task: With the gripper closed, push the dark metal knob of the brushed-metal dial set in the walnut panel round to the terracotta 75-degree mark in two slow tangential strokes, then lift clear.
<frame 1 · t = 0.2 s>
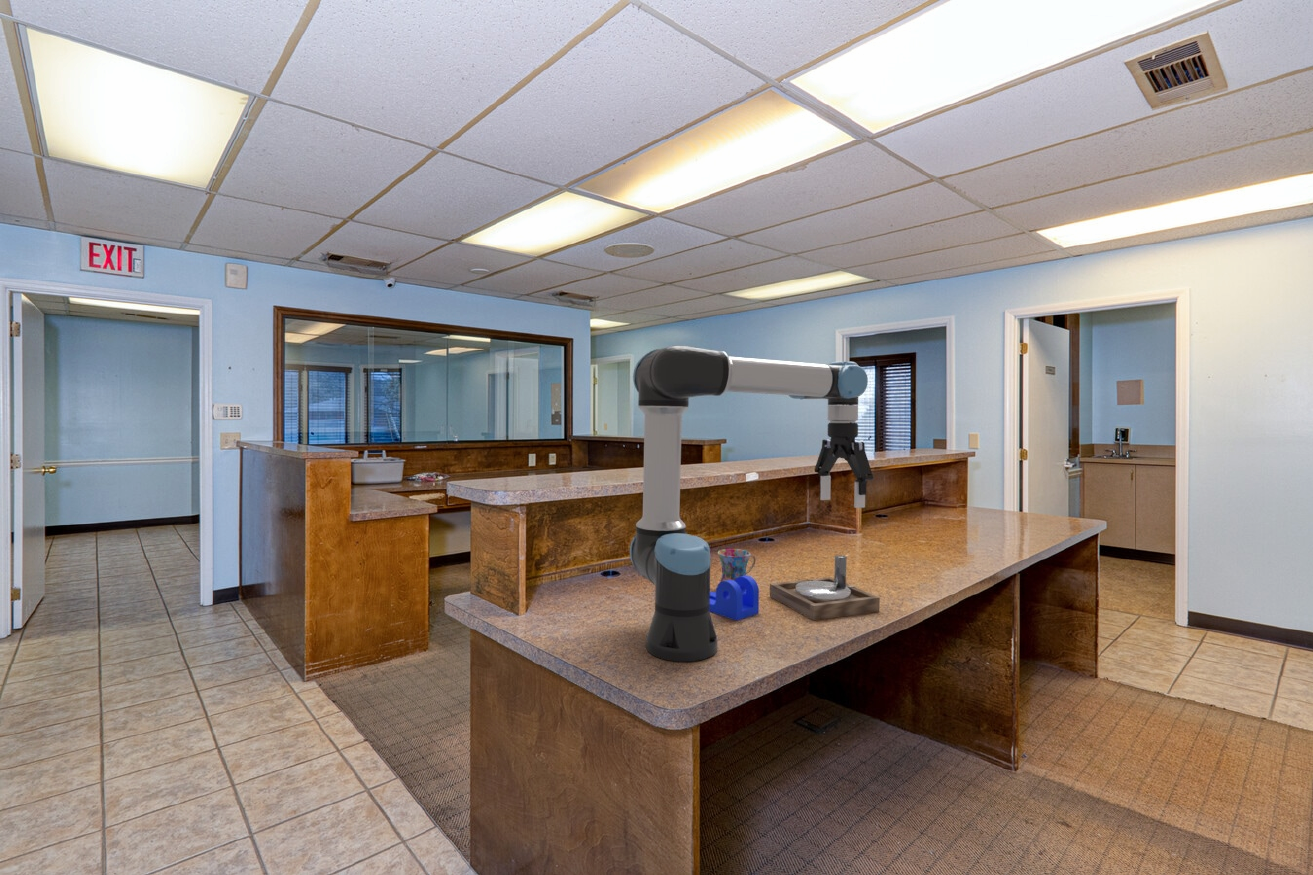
hand: (841, 503, 158), 27 cm above the table, fingers open, 13 cm apart
mug: (737, 589, 173), on the table
bracket: (720, 609, 156), on the table
dial: (823, 576, 160), point 7 cm above the table, hinge at 0.0°
dial panel: (822, 603, 160), on the table
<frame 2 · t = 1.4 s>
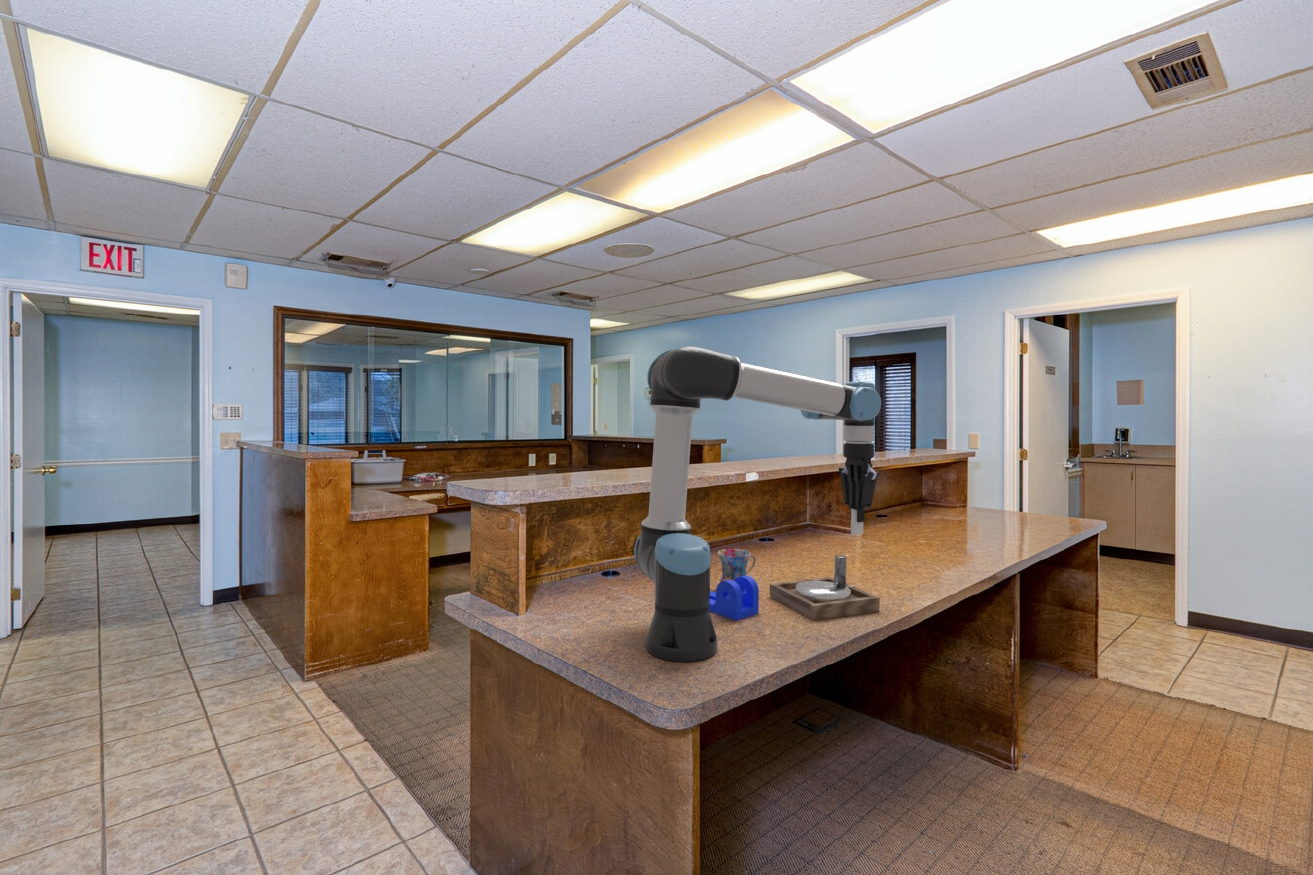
hand: (857, 534, 156), 19 cm above the table, fingers closed
nothing on the table moved.
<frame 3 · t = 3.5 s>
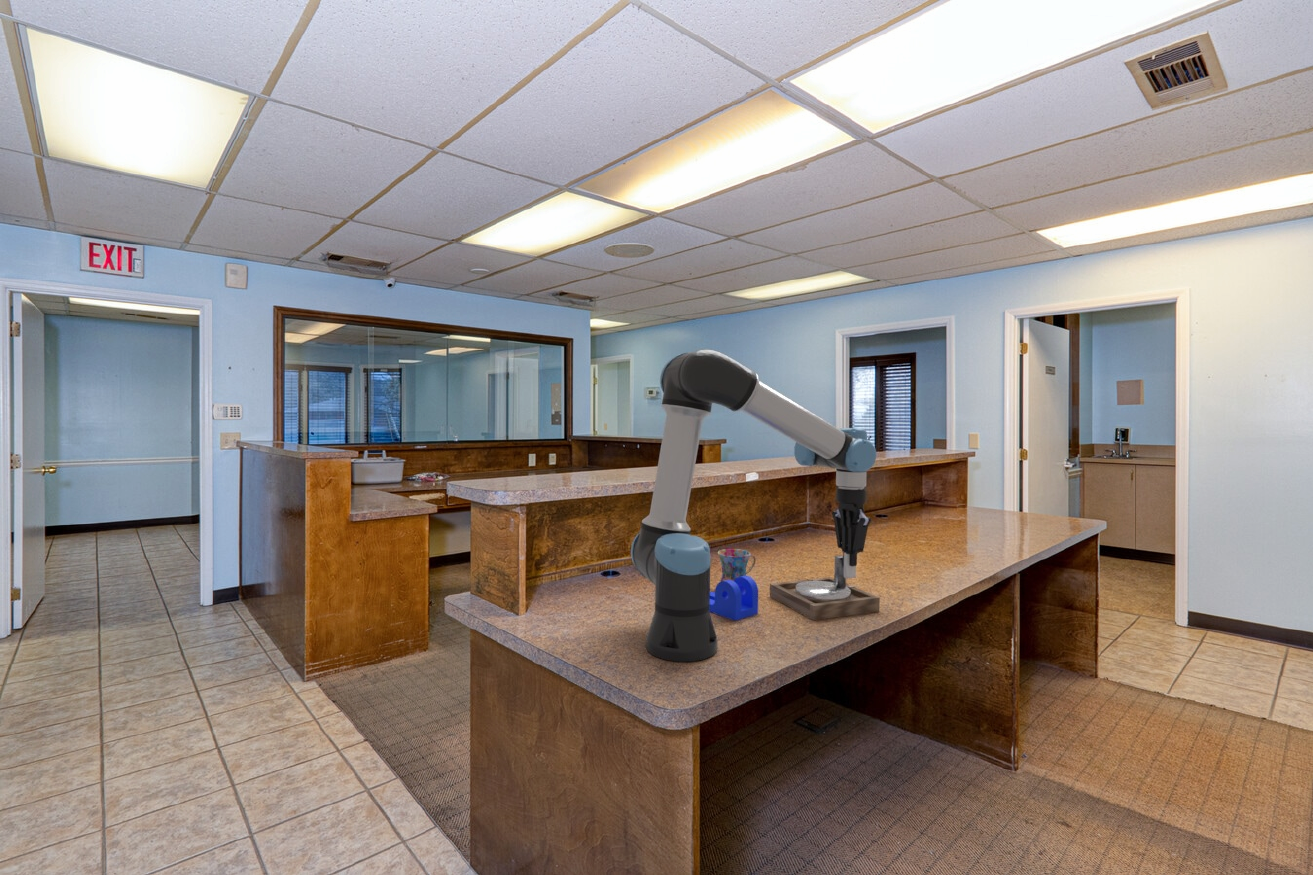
hand: (849, 577, 159), 7 cm above the table, fingers closed
dial: (823, 576, 160), point 7 cm above the table, hinge at 0.6°, touching gripper
everything else where it was.
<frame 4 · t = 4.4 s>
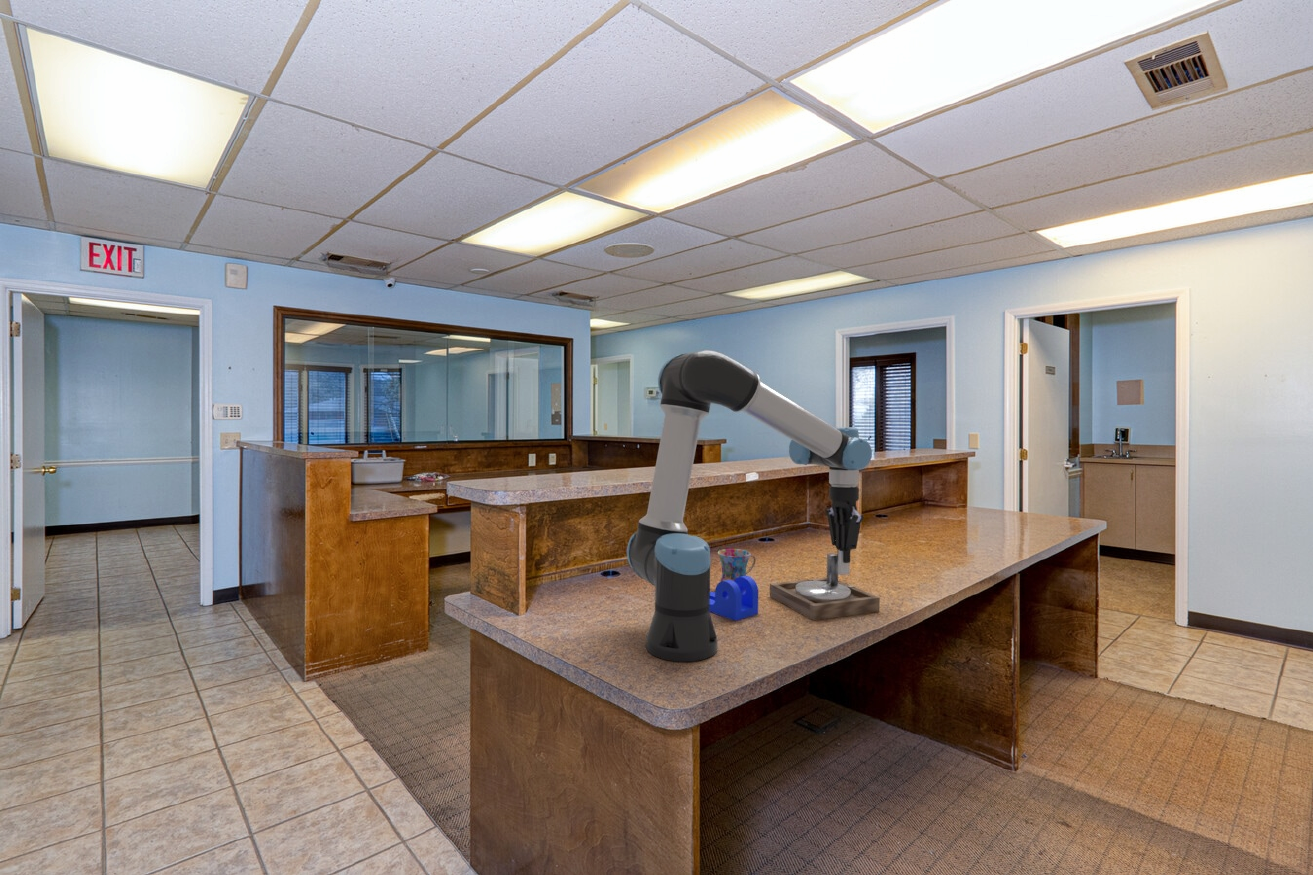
hand: (843, 574, 161), 8 cm above the table, fingers closed
dial: (823, 576, 160), point 7 cm above the table, hinge at 27.4°, touching gripper
everything else where it was.
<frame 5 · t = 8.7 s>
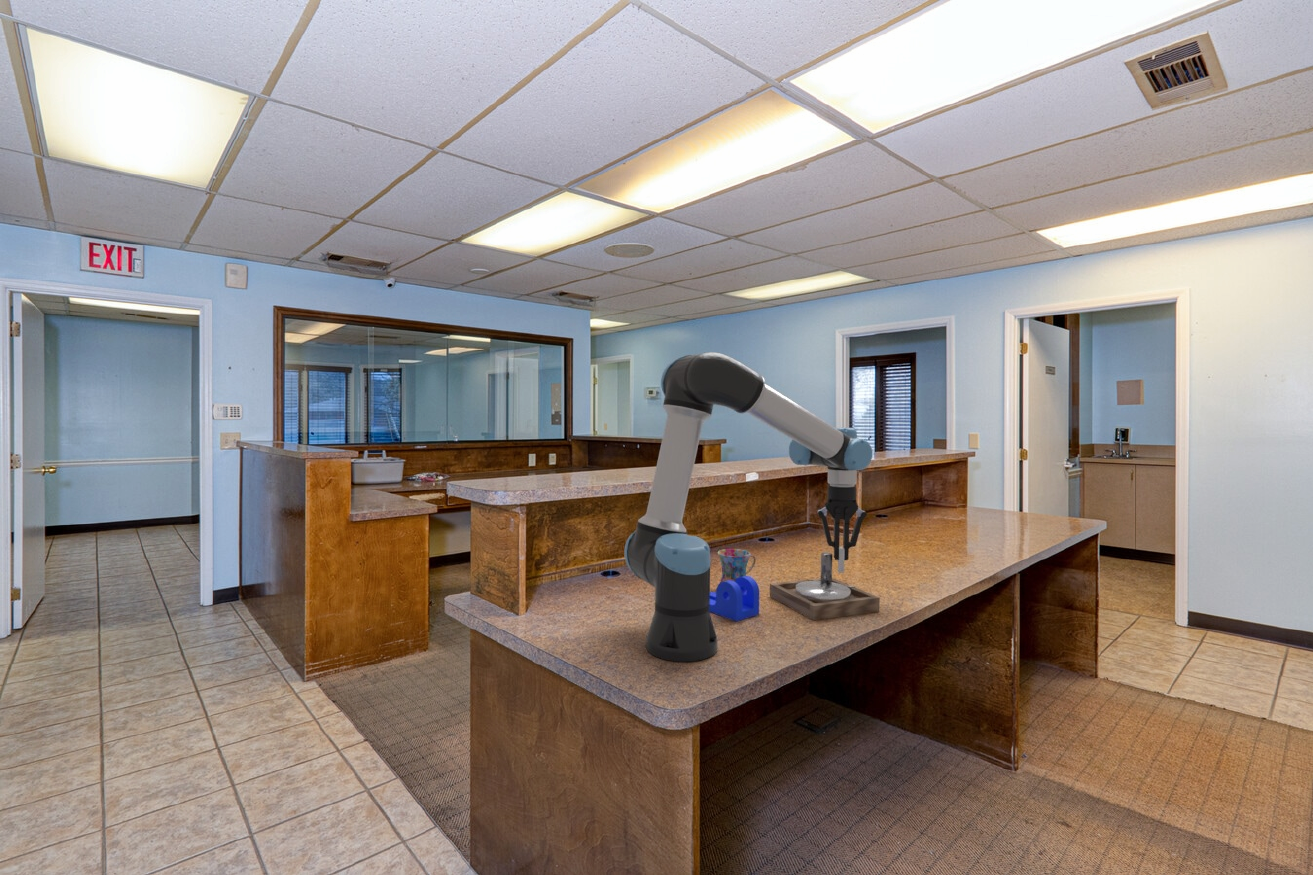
hand: (840, 571, 164), 7 cm above the table, fingers closed
dial: (823, 576, 160), point 7 cm above the table, hinge at 44.8°, touching gripper
everything else where it was.
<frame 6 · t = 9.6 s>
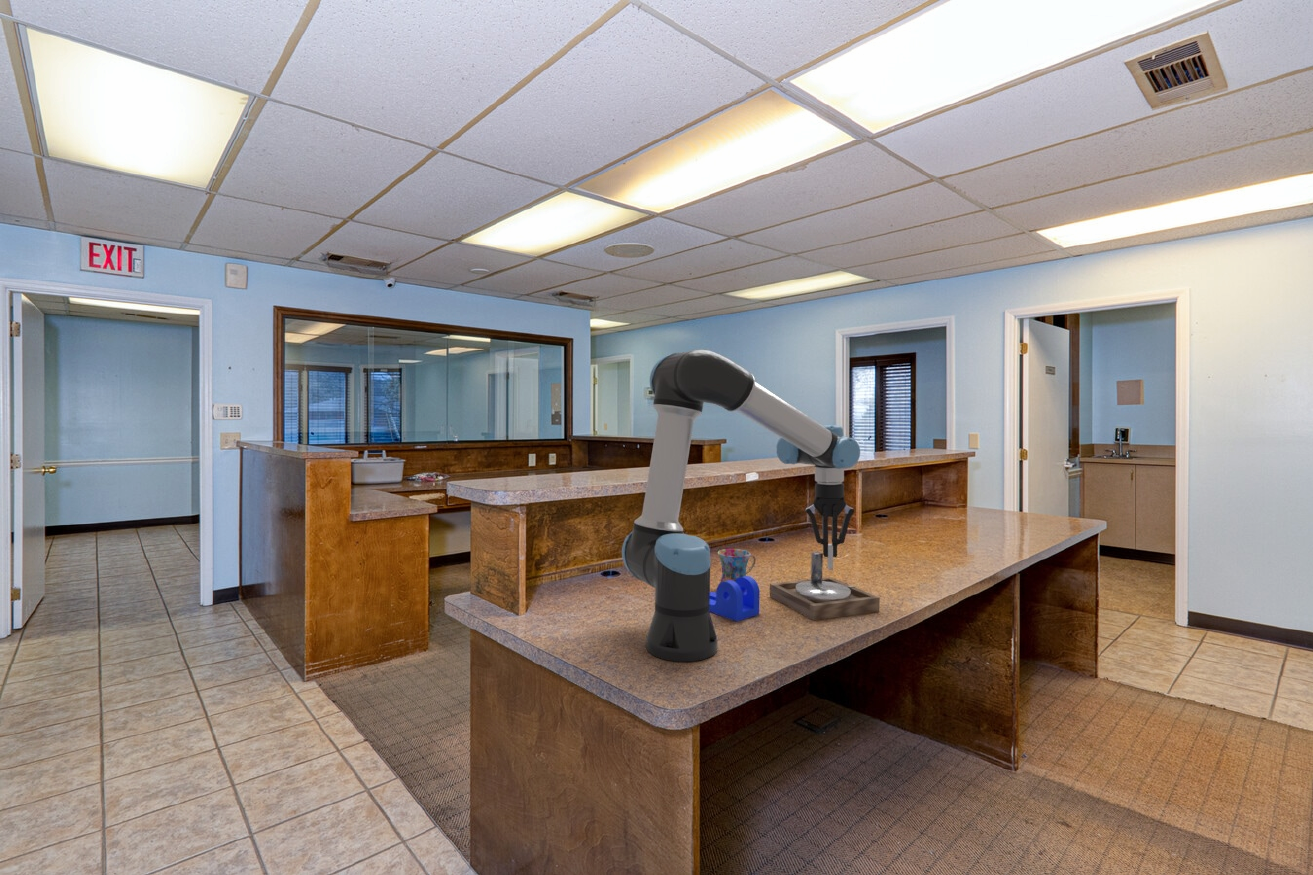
hand: (830, 568, 165), 8 cm above the table, fingers closed
dial: (823, 576, 160), point 7 cm above the table, hinge at 71.4°, touching gripper
everything else where it was.
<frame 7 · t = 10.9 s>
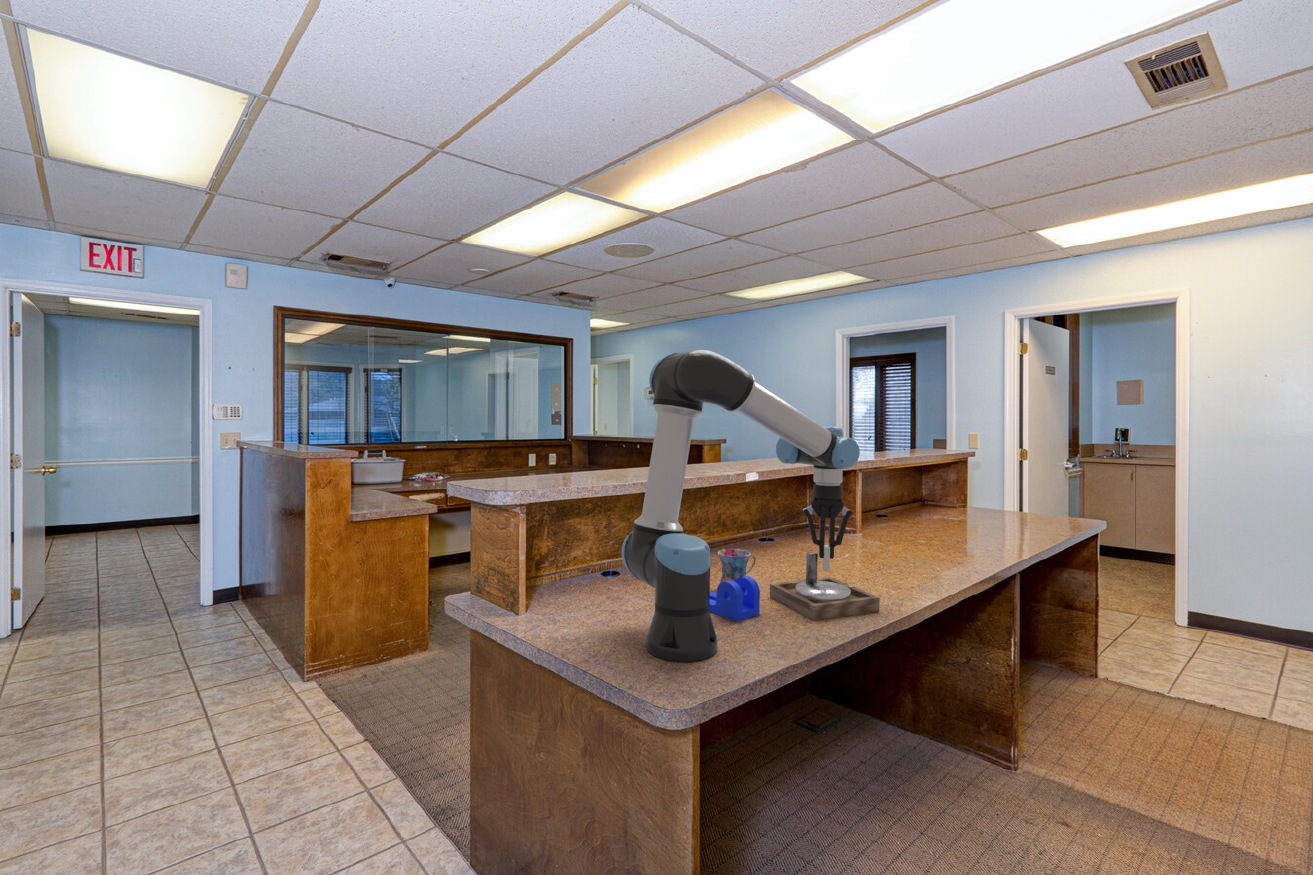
hand: (826, 569, 165), 8 cm above the table, fingers closed
dial: (823, 576, 160), point 7 cm above the table, hinge at 86.9°
everything else where it was.
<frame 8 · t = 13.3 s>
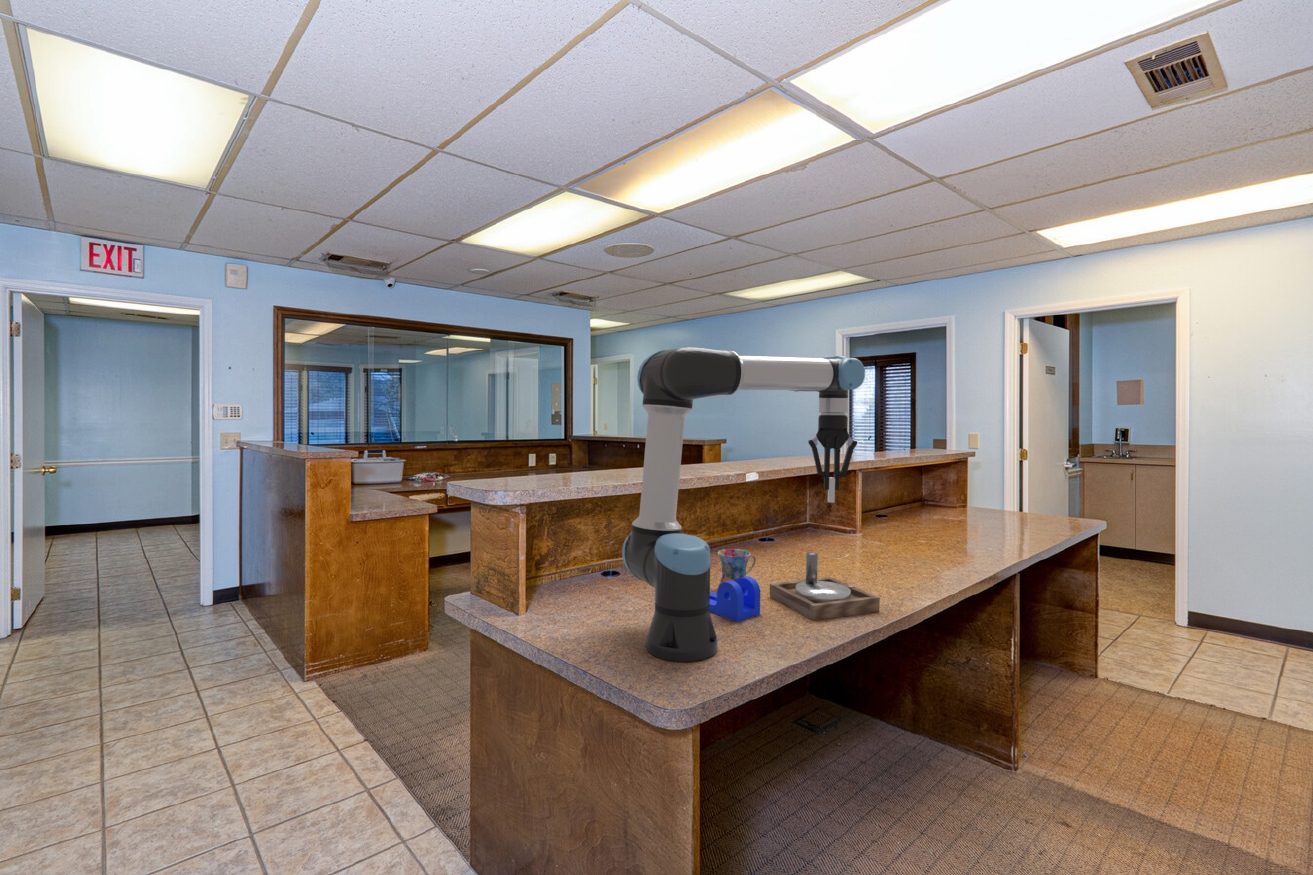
hand: (831, 501, 164), 26 cm above the table, fingers closed
nothing on the table moved.
at the end: dial at +87° (first picture: +0°) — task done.
